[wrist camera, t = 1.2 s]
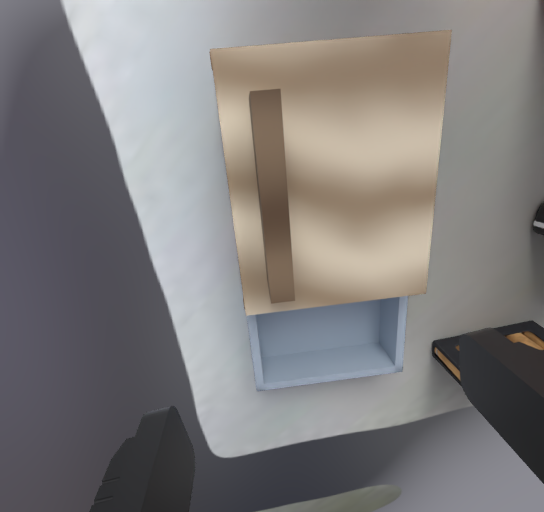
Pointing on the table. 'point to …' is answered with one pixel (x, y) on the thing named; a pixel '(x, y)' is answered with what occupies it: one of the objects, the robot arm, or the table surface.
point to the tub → (328, 342)
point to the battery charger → (539, 221)
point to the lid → (332, 165)
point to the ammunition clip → (520, 332)
